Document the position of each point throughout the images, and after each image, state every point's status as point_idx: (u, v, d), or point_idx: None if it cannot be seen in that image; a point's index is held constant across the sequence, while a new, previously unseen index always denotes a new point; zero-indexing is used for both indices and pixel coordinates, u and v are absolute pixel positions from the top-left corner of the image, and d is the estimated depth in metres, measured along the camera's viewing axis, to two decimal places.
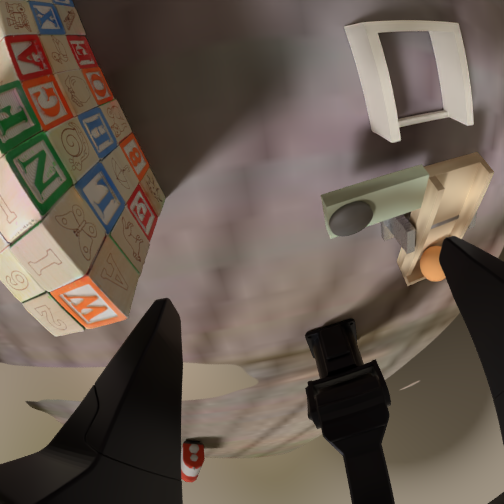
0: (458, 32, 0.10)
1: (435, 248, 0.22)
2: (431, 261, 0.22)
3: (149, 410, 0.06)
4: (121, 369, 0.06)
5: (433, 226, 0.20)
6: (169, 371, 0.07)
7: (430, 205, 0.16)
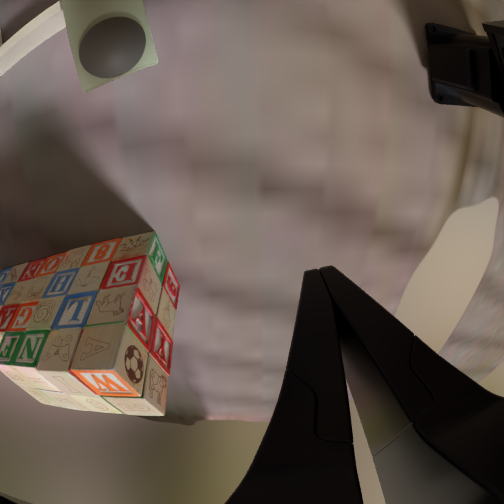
0: None
1: None
2: None
3: None
4: (318, 344, 0.05)
5: None
6: None
7: None
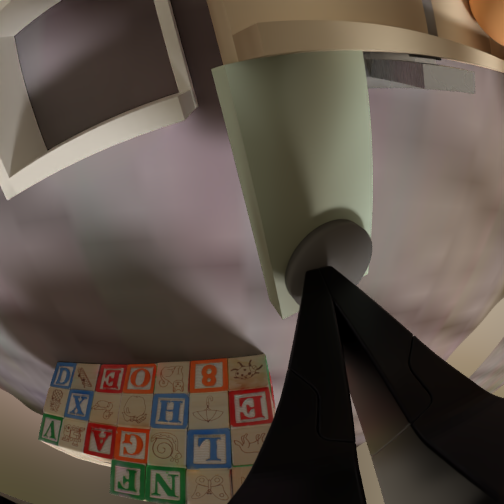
0: None
1: (475, 1, 0.04)
2: (501, 28, 0.04)
3: None
4: (320, 343, 0.05)
5: None
6: None
7: (343, 49, 0.04)
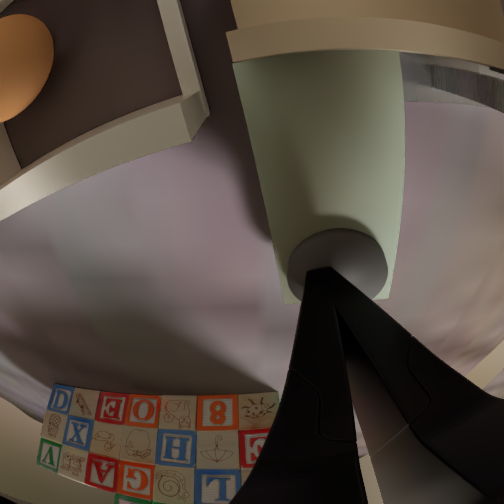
0: None
1: None
2: None
3: None
4: (321, 343, 0.05)
5: None
6: None
7: (341, 48, 0.04)
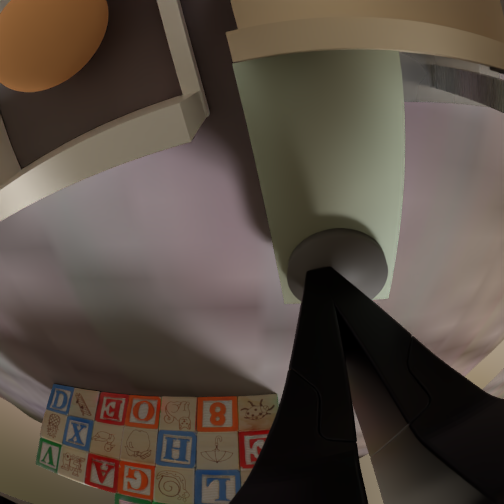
0: None
1: (24, 18, 0.02)
2: (72, 41, 0.04)
3: None
4: (321, 343, 0.05)
5: None
6: None
7: (341, 48, 0.04)
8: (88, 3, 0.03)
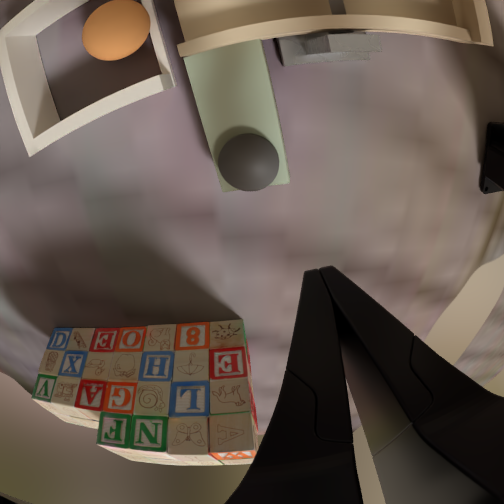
0: (3, 30, 0.06)
1: (142, 14, 0.08)
2: None
3: None
4: (318, 344, 0.05)
5: None
6: None
7: (224, 44, 0.09)
8: (149, 22, 0.10)
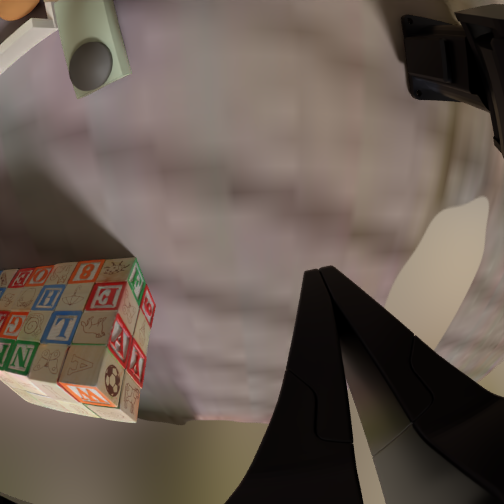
0: None
1: None
2: None
3: None
4: (318, 344, 0.05)
5: None
6: None
7: None
8: None
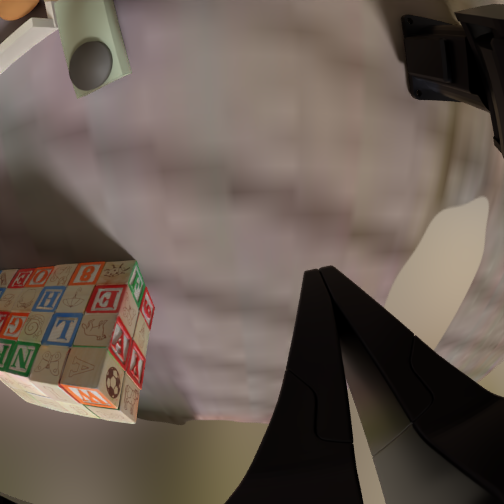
0: None
1: None
2: None
3: None
4: (318, 344, 0.05)
5: None
6: None
7: None
8: None
